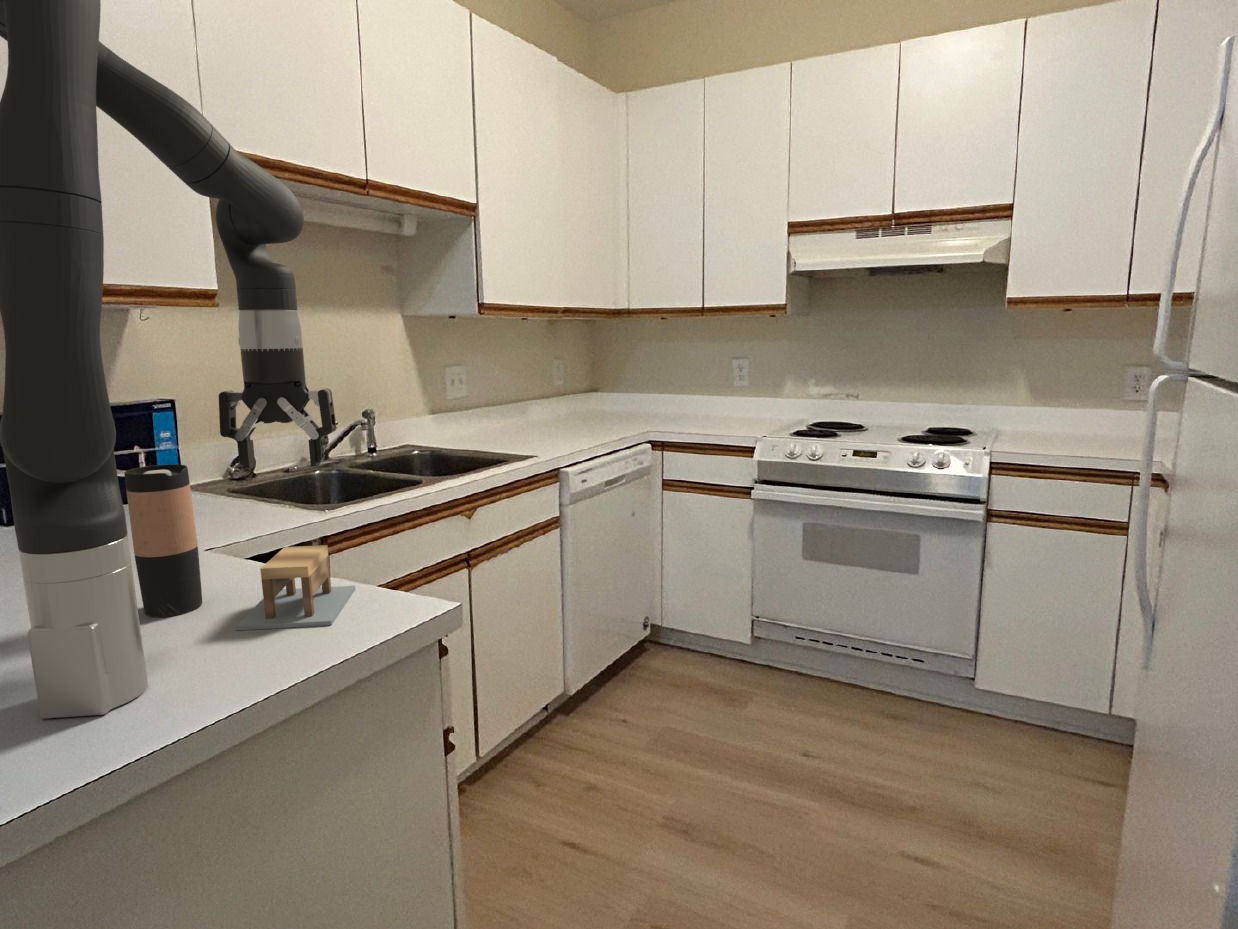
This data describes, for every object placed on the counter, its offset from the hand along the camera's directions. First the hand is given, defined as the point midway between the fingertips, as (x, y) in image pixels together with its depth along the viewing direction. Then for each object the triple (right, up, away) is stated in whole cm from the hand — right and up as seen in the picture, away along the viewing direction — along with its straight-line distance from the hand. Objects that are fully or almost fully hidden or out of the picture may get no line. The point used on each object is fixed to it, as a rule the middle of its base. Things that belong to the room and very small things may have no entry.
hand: (282, 467), depth 103 cm
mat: (+1, -20, +4) cm, 20 cm away
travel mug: (-17, -20, +5) cm, 27 cm away
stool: (+1, -19, +4) cm, 20 cm away
